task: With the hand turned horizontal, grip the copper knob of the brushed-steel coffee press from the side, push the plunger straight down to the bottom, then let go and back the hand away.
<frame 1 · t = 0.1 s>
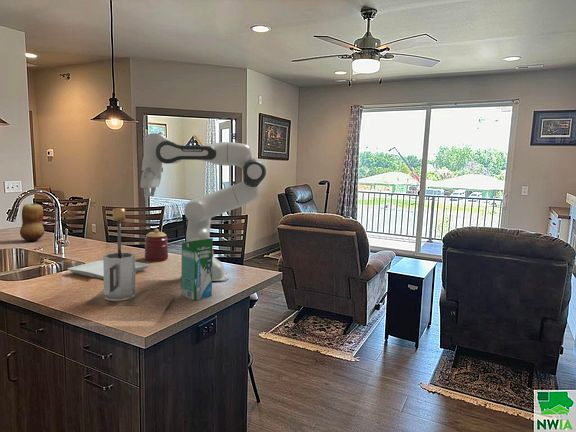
hand: (149, 196, 185), 39 cm above the counter, tool pointing down, fingers open, 8 cm apart
butternut squash: (32, 241, 261), on the counter
press jug: (119, 296, 155), resting on walnut board
square plate: (110, 273, 195), on the counter
canister: (156, 259, 225), on the counter
walnut board: (120, 300, 155), on the counter
plunger: (119, 239, 153), point 25 cm above the counter, slide at 10.0 cm
milk carton: (196, 296, 165), on the counter
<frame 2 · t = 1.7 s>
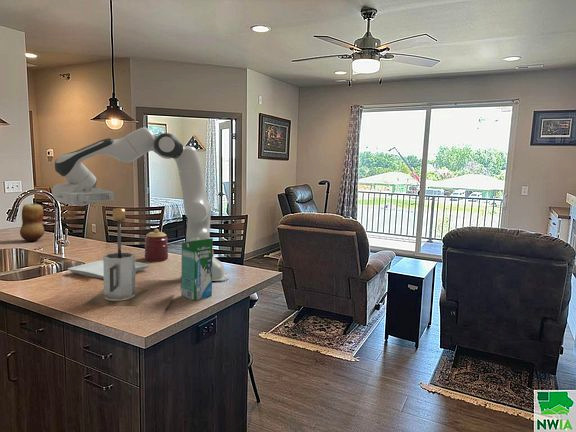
hand: (100, 198, 157), 40 cm above the counter, tool horizontal, fingers open, 8 cm apart
nothing on the counter moved.
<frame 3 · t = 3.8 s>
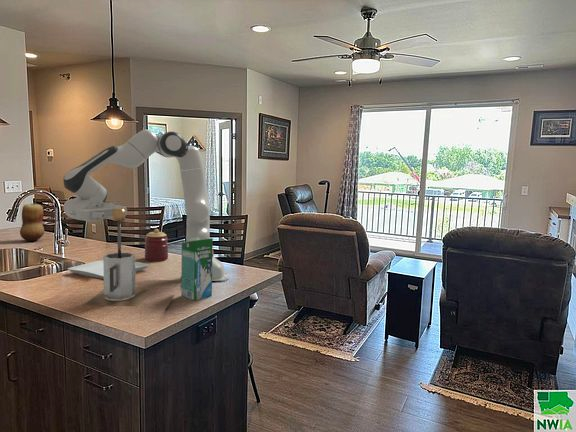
hand: (113, 214, 153), 34 cm above the counter, tool horizontal, fingers open, 8 cm apart
nothing on the counter moved.
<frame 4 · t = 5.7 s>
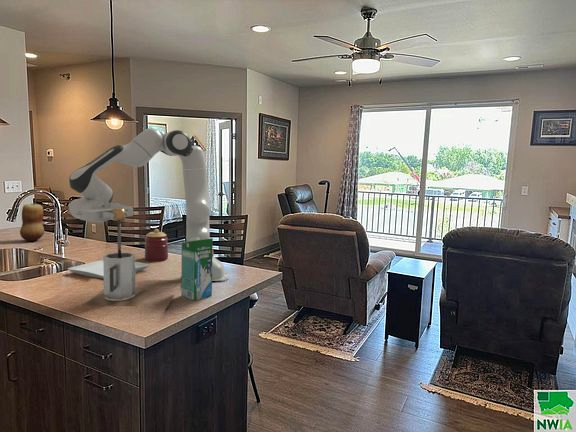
hand: (120, 214, 151), 34 cm above the counter, tool horizontal, fingers closed on plunger, 4 cm apart
plunger: (119, 239, 153), point 25 cm above the counter, slide at 10.0 cm, touching gripper
everything else where it was.
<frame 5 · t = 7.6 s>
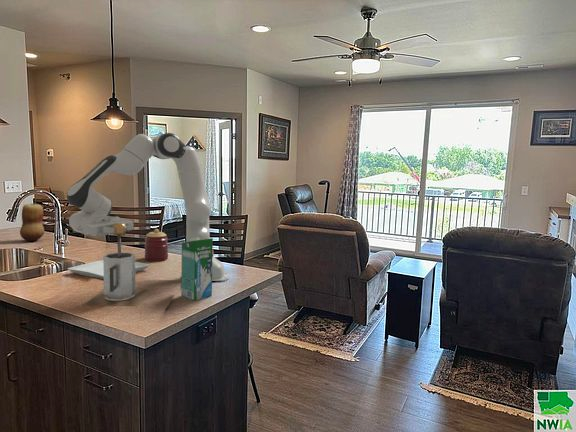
hand: (120, 229, 152), 29 cm above the counter, tool horizontal, fingers closed on plunger, 4 cm apart
plunger: (119, 253, 153), point 19 cm above the counter, slide at 4.3 cm, touching gripper
everything else where it was.
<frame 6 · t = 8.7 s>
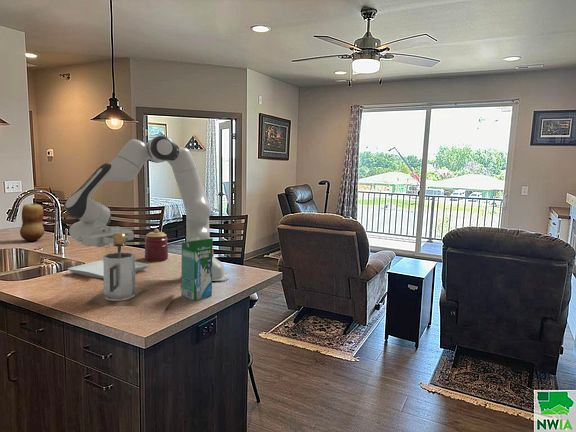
hand: (120, 240, 152), 25 cm above the counter, tool horizontal, fingers closed on plunger, 4 cm apart
plunger: (119, 264, 154), point 15 cm above the counter, slide at 0.1 cm, touching gripper
everything else where it was.
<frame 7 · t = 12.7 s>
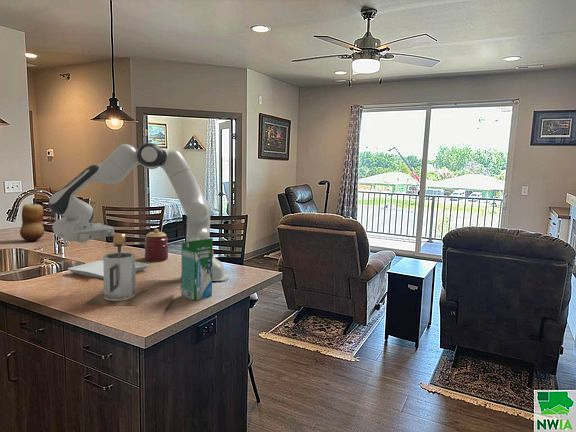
hand: (100, 235, 159), 25 cm above the counter, tool horizontal, fingers open, 8 cm apart
plunger: (119, 264, 154), point 15 cm above the counter, slide at 0.0 cm
everything else where it was.
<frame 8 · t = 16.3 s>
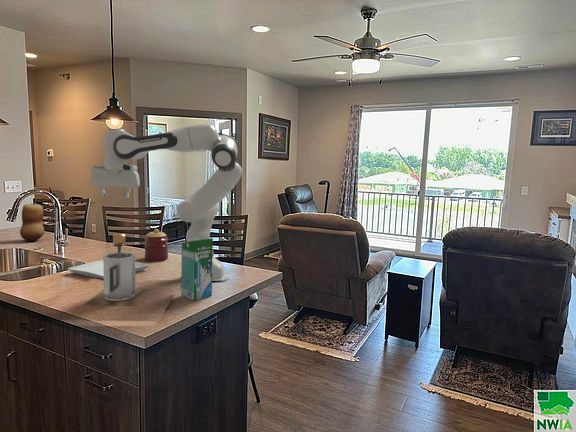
hand: (115, 197, 175), 39 cm above the counter, tool pointing down, fingers open, 8 cm apart
nothing on the counter moved.
at the end: plunger slide at 0.0 cm; the gripper is holding nothing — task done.
